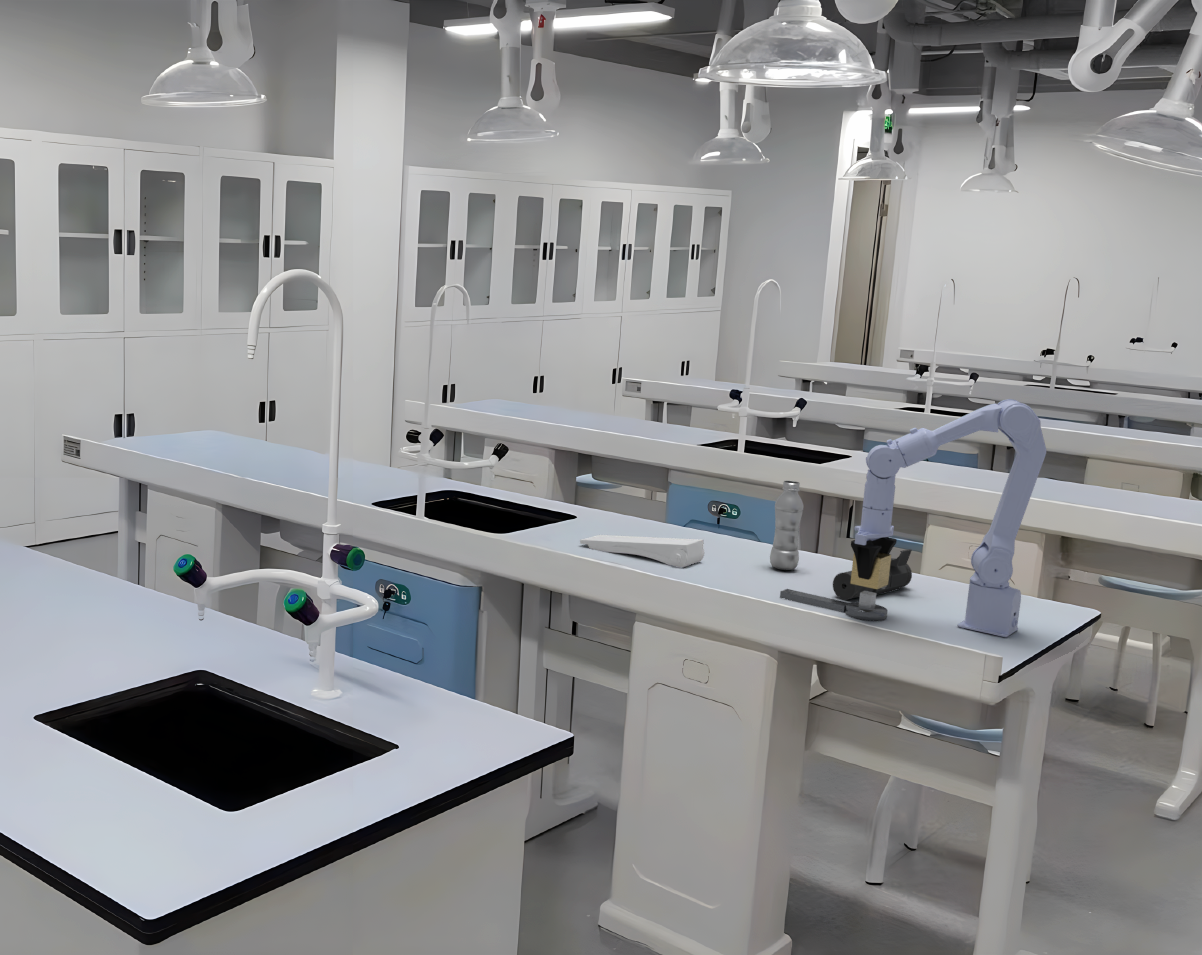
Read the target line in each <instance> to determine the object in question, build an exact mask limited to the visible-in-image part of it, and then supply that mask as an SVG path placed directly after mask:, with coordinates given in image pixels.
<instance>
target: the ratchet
mask: <svg viewBox="0 0 1202 955" xmlns="http://www.w3.org/2000/svg"><path fill="white" fill-rule="evenodd" d="M876 594H877V593H873V592H869V591H863V592H861V593H860V597H859V601H858V602H857V601H852V602H846V601H842V600H838V599H835V598H830V597H826V596H825V597H824V596H821V595H817V594H812V593H807V592H803V591H797V590H794V589H790V588H786V589H782V590H780V594H779V598H780V599H782V598H785V599H784V600H787V599H788V601H791V600H792V601H791V602H796V603H800V604H805V605H809V606H814V607H818V608H822V609H826V610H827V609H828V610H831V611H834V612H835V611H836V612H838V613H839V612H840V613H843V614H844V613H845V616H847V617H850V618H852V619H855V620H859V621H864V622H883V621H886V620H887V619H888V608H886V607H885V606H882V605H879V604H877V603H876V602H877V595H876Z"/></svg>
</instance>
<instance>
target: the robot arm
mask: <svg viewBox="0 0 1202 955" xmlns="http://www.w3.org/2000/svg"><path fill="white" fill-rule="evenodd" d="M1041 424H1042V423H1041V419H1040V417H1038V415H1037V414H1036V413H1035V411H1034V409H1033V408H1031V407H1030V405H1027V404H1026V403H1023V402H1021V401H1019V400H1016V399H1014V398H1007V399H1003V400H1000V401H999V402H998V403H991V404H987V405H985V406H983V407H980V408H977V409H975V410H973V411H971V412H969V413H967V414H965V415H963V416H960V417H959V418H956V419H954V420H952V421H950V422H947V423H946V424H944V425H942V426H939V427H938V428H935V429H934V430H932V429H931V430H930V429H928V428H925V427H921V428H919V429H918V428H917V427H913V428H910V429H909V433H906V434H905V435H902V436H900V437H898V438H895V439H893V440H892V438H890V439H887V440H886V444H885V445H884V444H879V445H875V446H874V447H872V448H871V449H870V450H869V452H868V453H867V456H866V457H865V463H866V466H867V468H868V469H867V473H866V478H865V479H866V480H865V484H864V490H863V491H864V492H863V501H862V509H861V520H860V525H855V526H854V531H855V532H857V533H855V537H854V540H850V547H851V549H852V552H853V555H854V554H855V558H856V563H857V571H858V577H859V578H862V579H867V580H869V579H870V577H871V574H872V570H873V566H874V562H875V559H876V556H877V554H878V552H880V553H885V554H890V555H891V552H892V551H893V548H894V546H895V545H896V544H897V539H896V538H893V536H894V528H895V526H894V525H892V521H893V510H894V503H895V494H896V485H895V484H896V475H897V474H898V472H899V470H900V469H901V468H902V469H905V468H908V467H911V466H913V465H916V464H917V463H919V462H922V461H925V460H927V459H929V458H932V457H933V456H936V454H937V451H938V450H939V447H941V446H943V445H946V444H948V443H951V442H954V441H956V440H959V439H961V438H964V437H966V436H969V435H971V434H974V433H977V432H980V431H983V432H991V433H999V431H1000V432H1001V433H1002V434H1003V435H1005V437H1007V438H1008V440H1009V442H1010V444H1011V446H1012V447H1013V449H1014V450H1015V456H1014V460H1013V462H1012V466H1011V468H1010V471H1009V472H1008V473H1009V474H1008V477H1007V480H1006V482H1005V485H1004V488H1003V490H1002V494H1001V496H1000V500H998V505H997V507H996V511H995V513H994V515H993V519H992V522H991V523H990V524H991V525H990V527H989V530H988V531H987V532H986V534H984V536H983V539H982V541H981V543H980V544H979V546H977V548H975V550H974V551H973V553H972V554H971V556H970V557H971V558H970V565H971V567H972V569H973V570H974V573H973V575H972V576H970V578H969V585H968V593H967V601H966V608H965V617H964V620H962V621H960V622H959V623H957V625H956V626H957V627H958V628H962V629H966V630H971V631H976V632H981V633H985V634H989V635H994V636H999V637H1003V638H1008V637H1009V636H1010V635H1012V634H1013V633H1014V632H1016V631H1018V629H1019V627H1018V624H1019V617H1020V608H1021V602H1022V592H1021V590H1020V589H1018V588H1014V587H1012V586H1011V585H1010V582H1009V581H1010V580H1011V578H1012V576H1013V573H1014V567H1013V558H1014V555H1015V548H1016V547H1015V544H1016V538H1017V535H1018V532H1019V531H1020V530H1019V529H1020V528H1021V525H1022V521H1023V519H1024V515H1025V513H1026V510H1027V508H1028V505H1029V502H1030V499H1031V498H1032V497H1031V496H1032V494H1033V491H1034V489H1035V485H1036V483H1037V479H1038V478H1039V474H1040V472H1041V469H1042V467H1043V463H1044V460H1045V459H1046V458H1045V457H1046V455H1047V446H1046V443H1045V439H1044V435H1043V431H1042V425H1041Z"/></svg>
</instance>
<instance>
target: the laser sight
mask: <svg viewBox="0 0 1202 955" xmlns="http://www.w3.org/2000/svg"><path fill="white" fill-rule="evenodd" d="M912 551H913V550H912V549H911V548H910V549H904V550H900V553H899V556H898V557H896V558H892V557H891V563H890V571H889V580H888V585H886V586H884V587H881V588H879V589H873V588H869V587H864V586H859V585H855V584H850V583H851V574H852V570H848V571H844V572H839V573H837V574H836V575H835V576H834V578H833V581H832V590H833V592H834V593H835V596H837V597H838V598H839V599H841V600H844V601H845V600H851V599H856V598H860V593H861V592H863V591H869V592H873V593H877V594H876V596H878V595H881V594H885V593H891V592H894V590H895V591H898V589H899V590H900V589H901V588H903V587H906V586H907V585H909V584H910V583H911V581H912V578H913V574H912V573H913V572H912V569H911V567H910V565H909V564H908V561H909V559H910V555H911V553H912ZM890 591H891V592H890Z"/></svg>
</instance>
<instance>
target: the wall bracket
mask: <svg viewBox="0 0 1202 955" xmlns="http://www.w3.org/2000/svg"><path fill="white" fill-rule="evenodd" d="M579 544H580V545H587V547H588V548H589V549H591V550H595V551H600V552H606V553H615V554H629V555H634V556H635V555H637V556H641V557H646V558H649V559H652V560H656V561H658V562H661V563H663V564H666V565H668V566H671V565H673V566H672V567H675V566H677V567H676V568H680V567H683V568H685V567H689V566H691V564H692V565H694V563H695V564H697V562H698V563H700V562H701V561H702V560H703V559H704V556H705V548H704V544H705V543H704V539H697V538H694V539H691V538H676V537H675V538H673V537H656V536H655V537H650V536H633V535H632V536H631V535H611V534H607V535H606V534H597V535H594V536H590V537H586V538H583V539H580V540H579Z"/></svg>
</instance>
